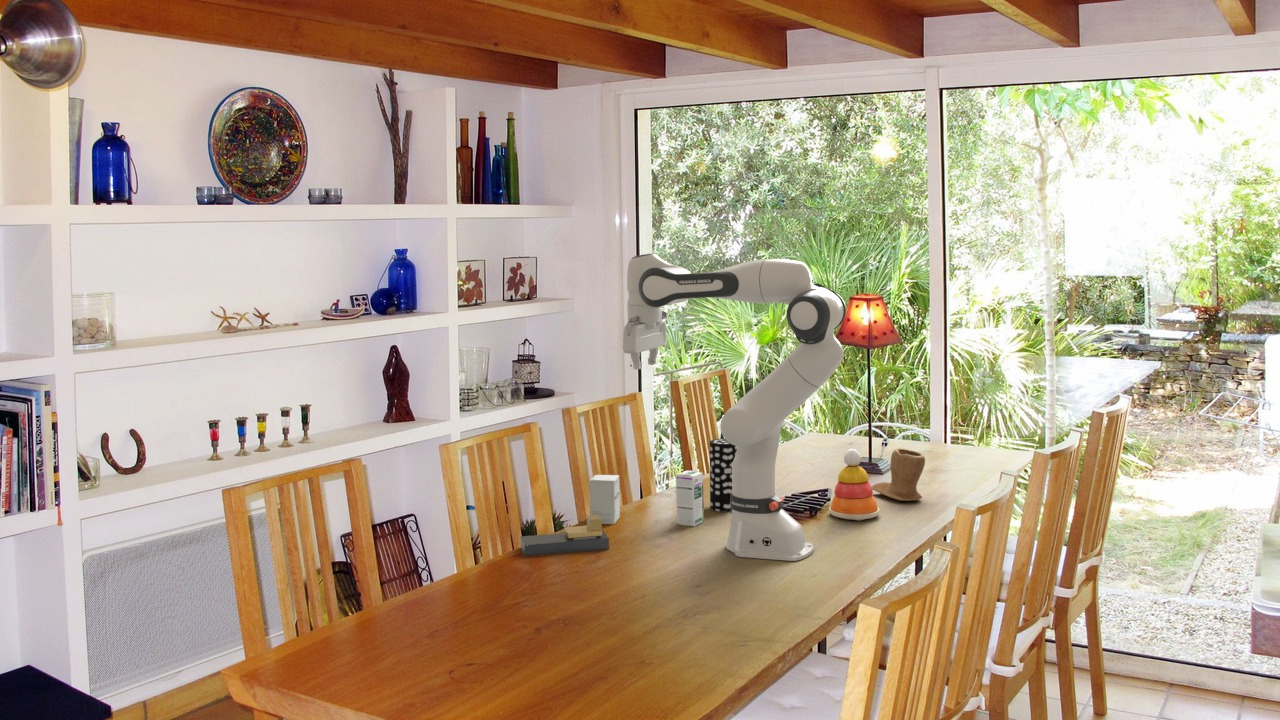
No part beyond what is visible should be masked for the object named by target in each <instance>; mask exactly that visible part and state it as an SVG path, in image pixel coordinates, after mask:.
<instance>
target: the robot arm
mask: <svg viewBox="0 0 1280 720" xmlns="http://www.w3.org/2000/svg"><path fill="white" fill-rule="evenodd" d="M627 265H628V266H627V272H626V273H627V274H626V289H627V292H628V299H627V305H626V306H627V322H626V324H625V326H624V328H623V337H622V350H623V353H624V354H630V359H631V361H632V364H633V365H632V367H633V370H641V369H642V367H643V366H642V364H643V363H642V362H641V358H640V357H641V353H643V352H646V351H648V352H649V356H648V358H647V364H648V365H649V366H653V365H656V364H657V358H658V357H657V356H658V353H659V348H661V347H664V346H665V344H666V339H667V323H666V320H667V319H668V312H667V310H664V309H663V308H662V307H664V306H668V305H673V304H675V305H676V304H680V303H684V302H685V301H688V300H689V299H705V298H708V299H709V298H712V299H713V298H714V299H715V298H716V299H724V300H730V301H736V302H737V301H738V302H742V303H743V302H745V303H752V304H777V303H778V304H779V303H780V304H785V305H788V306H787V309H786V320H787V323H788V325H789V327H790V329H791V330H792V332H793V333H794V335H795V338H796V339H797V341H798V342H799V345H798V346H797V347H795V349H794V350H792V352H791V353H790V354H789V355H788V356H786V358H784V359H783V360H782V361H781V362H780V363H779V365H777V366H776V367H775V368H774V369H773V370H772V371H771V372H770V373H769V374H768V375H767V376H765V378H763V379H762V381H760V382H759V383H757V384H756V385H755V386H754V387H752V388H751V389H750V390H749V391H748V392H747V393H746V394H744V395H743V396H742V397H741V398H739V400H737V402H735V403H734V404H733V405H732V406H731V407H729V409H727V411H726V412H725V413H724V415H723V416H722V418H721V421H720V432H721V435H722V436H723V439H726V440H727V441H728V442H729V443H730V444H732V445H735V446H738V447H737V451H736V455H735V458H734V460H733V463H732V493H731V498H730V511H729V512H730V514H731V517H730V518H731V519H730V527H729V533H728V538H727V542H726V544H725V548H726V550H728V551H730V552H732V553H733V554H734V555H735V556H736V557H739V558H749V559H752V558H753V559H763V560H775V561H786V562H787V561H788V562H789V561H790V562H793V561H794V562H795V561H800V560H803V559H805V558H807V557H810V555H812V554H813V552H814V544H813V543H811V542H808V541H807V542H806V537H805V531H804V528H803V526H802V524H800V522H798V521H797V520H796V519H794V518H793V517H792V516H791V515H789V514H788V512H786V511H785V510H784V509H783V503H784V502H785V497H783V496H782V497H781V498H780V497H779V496H778V495H777V494H776V462H777V455H778V449H779V443H780V438H781V437H780V436H781V433H782V432H781V431H782V427H783V425H784V422H785V419H786V418H788V417H789V416H790V415H791V414H792V413H793V412H795V411H796V410H797V409H799V408H800V407H801V406H802V405H803V404H804V403H805V402H806V401H807V400H808V399H809V398H810V397H811V396H813V394H814V393H816V392H817V391H818V390H819V389H820V388H821V387H822V386H823V385H824V384H825V383H826V382H827V381H828V379H830V377H832V375H833V374H834V373H835V371H836V370H837V369H838V367H839V366H840V365H841V364H842V361H843V360H844V356H845V352H844V349H843V348H844V347H843V345H842V344H841V342H840V341H839V340H838V339H837V338H836V335H835V331H834V330H836V329H837V328H839V327H840V326H841V325H842V324H843V322H844V320H845V318H846V316H847V315H846V314H847V305H846V302H845V300H844V299H843V298H842V296H841V295H840V294H838V293H837V292H836V291H834V290H832V289H830V288H828V287H826V286H824V285H822V284H821V283H818V282H817V283H813V281H812V274H811V271H810V268H809V267H808V265H807V264H806V263H804V262H802V261H799V260H792V259H785V258H763V259H755V260H749V261H745V262H741V263H738V264H734V265H732V266H728V267H724V268H722V269H718V270H714V271H707V272H691V271H690V270H689V269H687V268H685V267H683V266H682V267H681V266H678V265H676V264H672V263H669V262H667V261H665V260H664V259H662V258H661V257H660V256H659V255H658V254H656V253H646V254H638V255H636V256H635V255H634V256H632V258H630V259H629V261H628V264H627Z"/></svg>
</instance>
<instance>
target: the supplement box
mask: <svg viewBox="0 0 1280 720" xmlns="http://www.w3.org/2000/svg"><path fill="white" fill-rule="evenodd" d="M620 494H621V493H620V475H619V474H618V475H617V474H615V475H614V474H594V475H593V477H592V478H590V479H589V515H595V514H598V515H599V516H600V518H601V519H602V525H615V524H616V522H617V521H618V520H619V518H621V513H620V512H621V511H620V509H621V506H620V505H621V504H620V503H621V500H620Z"/></svg>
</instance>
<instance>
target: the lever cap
mask: <svg viewBox="0 0 1280 720" xmlns="http://www.w3.org/2000/svg"><path fill="white" fill-rule="evenodd" d="M602 530H603V524H602V519H601V518H600V516H599V515H598V514H595V515H590V514H587V515H586V525H579V526H566V527H564V528H563V533H565V534H566V535H567V537H568V538H576V537H588V536H601V535H602Z"/></svg>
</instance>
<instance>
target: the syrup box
mask: <svg viewBox="0 0 1280 720" xmlns="http://www.w3.org/2000/svg"><path fill="white" fill-rule="evenodd" d="M675 490H676V491H675V493H676V494H675V495H676V496H675V499H676V501H675V502H676V524H677V525H680V526H687V527H696V526H697V525H700V524H702V523H704V522H705V509H704V506H705V505H704V504H705V503H704V473H703V471H698V470H684V471H682V472H680V473H677V474H676V475H675Z"/></svg>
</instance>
